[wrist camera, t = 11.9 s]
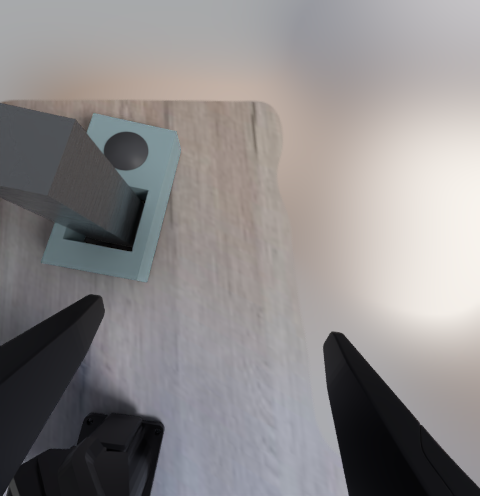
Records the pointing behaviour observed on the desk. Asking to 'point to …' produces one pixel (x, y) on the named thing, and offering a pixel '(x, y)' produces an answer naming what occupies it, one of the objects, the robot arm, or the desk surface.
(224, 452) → the desk surface
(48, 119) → the square bit
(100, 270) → the socket block
